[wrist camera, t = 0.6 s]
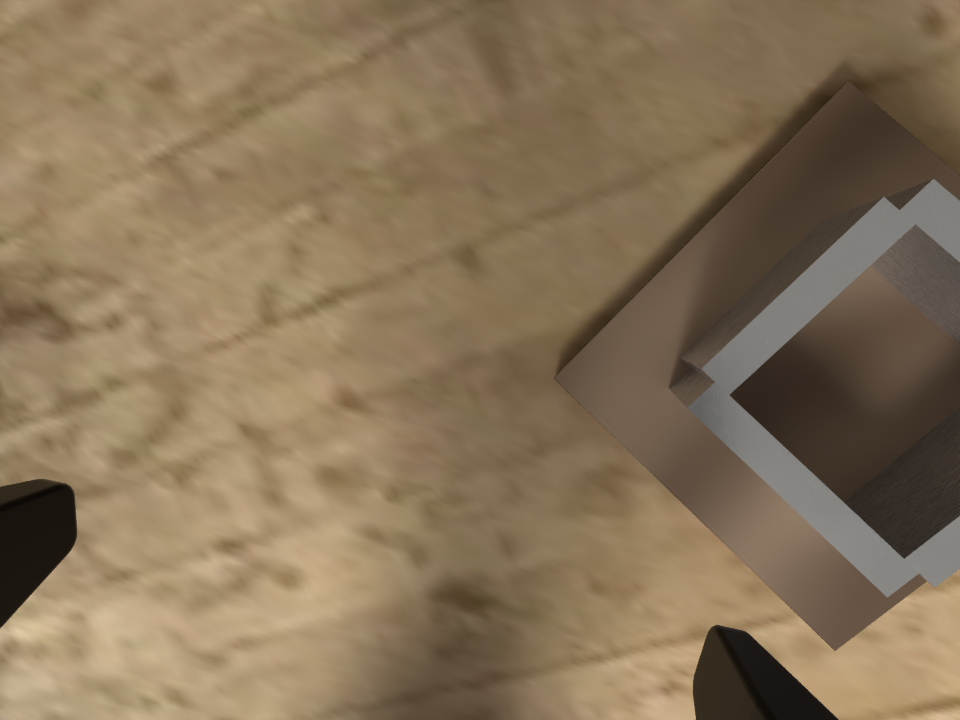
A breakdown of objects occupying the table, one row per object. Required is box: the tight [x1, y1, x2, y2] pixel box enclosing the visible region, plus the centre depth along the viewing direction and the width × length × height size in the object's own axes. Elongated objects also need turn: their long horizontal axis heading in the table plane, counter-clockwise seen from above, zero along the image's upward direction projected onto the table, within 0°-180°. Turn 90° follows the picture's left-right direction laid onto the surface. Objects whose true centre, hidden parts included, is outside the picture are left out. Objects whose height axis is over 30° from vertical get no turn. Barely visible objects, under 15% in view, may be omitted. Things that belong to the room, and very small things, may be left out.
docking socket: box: [554, 81, 960, 651], centre depth 16 cm, size 13×13×5 cm
